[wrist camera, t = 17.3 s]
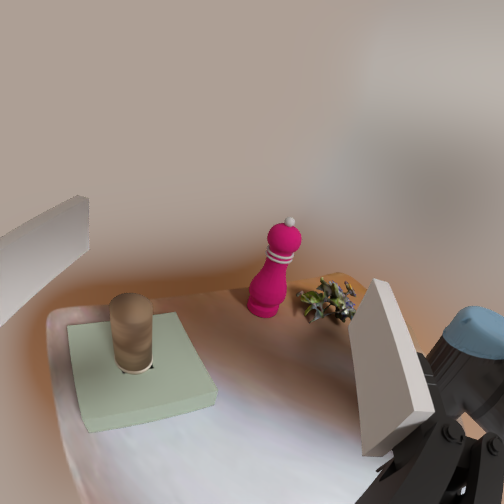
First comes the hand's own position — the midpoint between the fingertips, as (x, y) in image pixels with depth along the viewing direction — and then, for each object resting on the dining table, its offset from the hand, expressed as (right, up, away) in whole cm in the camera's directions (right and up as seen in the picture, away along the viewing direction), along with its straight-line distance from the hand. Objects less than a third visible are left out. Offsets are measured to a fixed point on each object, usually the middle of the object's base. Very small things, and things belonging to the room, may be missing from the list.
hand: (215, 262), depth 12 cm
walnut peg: (-15, -17, +25) cm, 34 cm away
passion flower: (+16, -14, +48) cm, 53 cm away
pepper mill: (+4, -11, +47) cm, 48 cm away
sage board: (-15, -17, +25) cm, 34 cm away
